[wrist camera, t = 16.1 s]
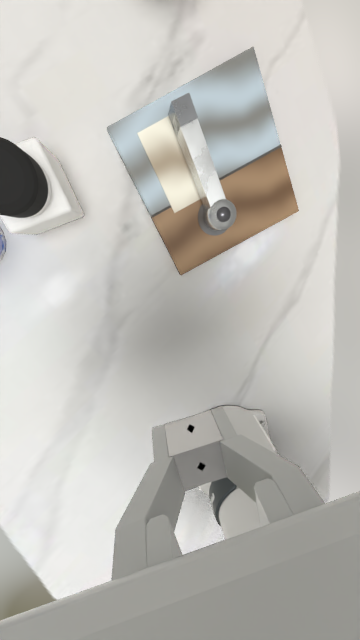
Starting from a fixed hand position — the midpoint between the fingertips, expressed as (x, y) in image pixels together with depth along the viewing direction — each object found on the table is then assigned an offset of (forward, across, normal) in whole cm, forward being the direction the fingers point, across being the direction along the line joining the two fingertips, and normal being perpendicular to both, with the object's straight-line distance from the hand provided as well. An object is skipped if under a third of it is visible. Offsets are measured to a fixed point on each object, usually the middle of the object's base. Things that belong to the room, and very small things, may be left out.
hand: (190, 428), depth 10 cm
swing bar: (+27, -10, -13) cm, 32 cm away
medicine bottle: (+29, +10, -15) cm, 34 cm away
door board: (+29, -12, -13) cm, 34 cm away
